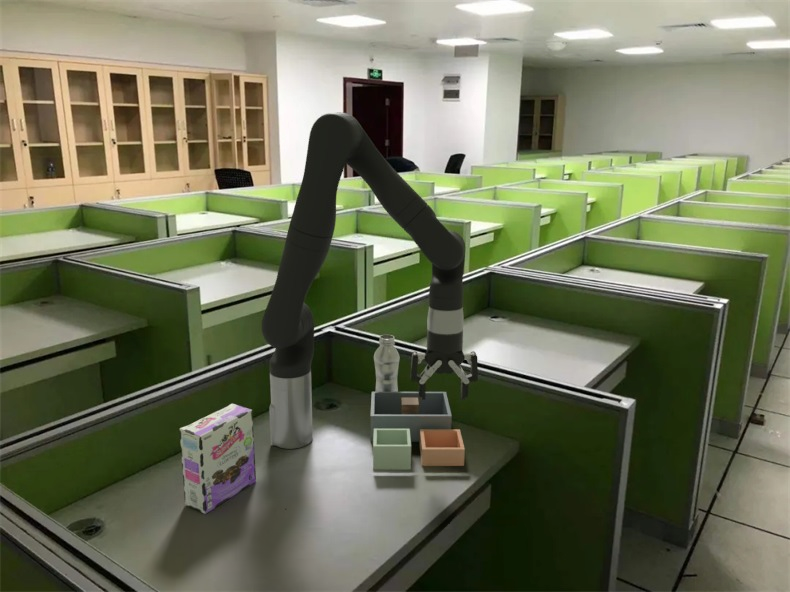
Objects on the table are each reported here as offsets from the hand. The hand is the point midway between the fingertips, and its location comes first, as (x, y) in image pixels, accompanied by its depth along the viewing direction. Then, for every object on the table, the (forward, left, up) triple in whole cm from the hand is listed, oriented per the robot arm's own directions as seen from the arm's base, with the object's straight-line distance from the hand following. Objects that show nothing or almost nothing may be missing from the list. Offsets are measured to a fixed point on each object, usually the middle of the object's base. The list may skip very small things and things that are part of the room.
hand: (443, 398), depth 135 cm
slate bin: (-7, +13, -14) cm, 21 cm away
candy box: (-45, -14, -15) cm, 49 cm away
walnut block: (-7, +13, -14) cm, 20 cm away
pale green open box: (-11, -2, -14) cm, 18 cm away
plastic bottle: (-12, +24, -15) cm, 31 cm away
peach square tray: (0, 0, -14) cm, 14 cm away
